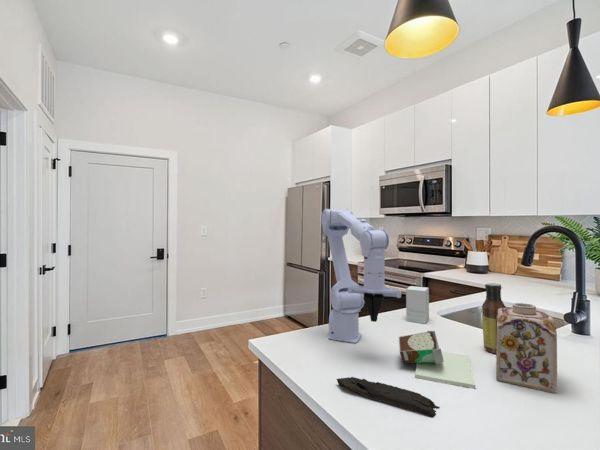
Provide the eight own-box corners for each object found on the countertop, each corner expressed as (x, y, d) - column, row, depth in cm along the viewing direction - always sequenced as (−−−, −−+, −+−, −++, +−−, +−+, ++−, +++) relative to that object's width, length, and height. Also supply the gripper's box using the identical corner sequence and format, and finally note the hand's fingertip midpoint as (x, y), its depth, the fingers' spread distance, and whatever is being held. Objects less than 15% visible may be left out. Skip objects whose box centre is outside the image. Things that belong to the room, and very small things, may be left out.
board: (415, 377, 79) (415, 374, 79) (419, 350, 95) (419, 348, 95) (475, 388, 73) (475, 385, 73) (468, 358, 90) (468, 355, 90)
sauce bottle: (506, 349, 96) (506, 283, 96) (509, 356, 91) (509, 286, 91) (481, 345, 99) (481, 281, 99) (483, 352, 94) (483, 285, 93)
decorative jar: (557, 395, 71) (558, 313, 71) (495, 381, 77) (496, 306, 77) (550, 373, 81) (550, 302, 81) (496, 363, 87) (496, 296, 87)
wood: (441, 403, 68) (441, 388, 68) (436, 421, 62) (436, 405, 62) (344, 378, 80) (344, 365, 80) (332, 391, 73) (332, 377, 73)
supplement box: (429, 319, 126) (429, 287, 126) (425, 324, 120) (425, 290, 120) (410, 316, 130) (410, 285, 130) (405, 321, 124) (405, 288, 124)
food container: (405, 377, 82) (447, 373, 79) (399, 354, 82) (441, 349, 79) (403, 355, 94) (439, 350, 91) (398, 334, 94) (434, 330, 91)
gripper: (345, 272, 90) (345, 321, 90) (399, 276, 84) (399, 328, 84) (351, 269, 96) (351, 314, 96) (402, 272, 90) (402, 320, 90)
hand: (374, 320), depth 90 cm, fingers closed
